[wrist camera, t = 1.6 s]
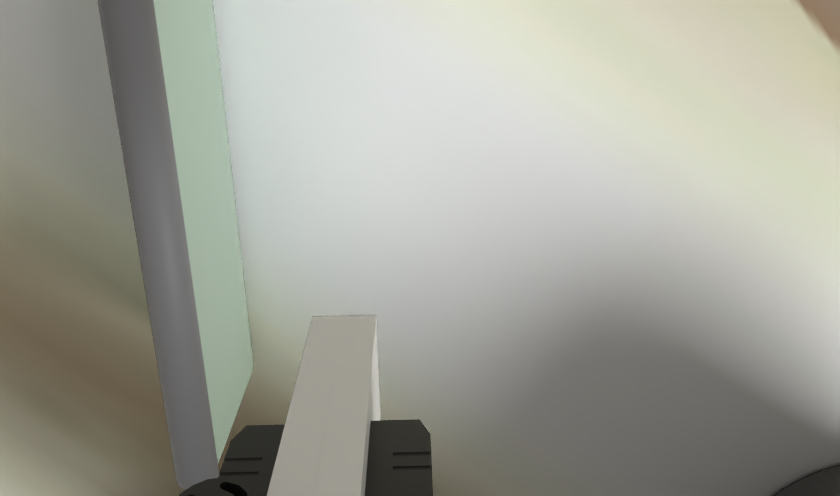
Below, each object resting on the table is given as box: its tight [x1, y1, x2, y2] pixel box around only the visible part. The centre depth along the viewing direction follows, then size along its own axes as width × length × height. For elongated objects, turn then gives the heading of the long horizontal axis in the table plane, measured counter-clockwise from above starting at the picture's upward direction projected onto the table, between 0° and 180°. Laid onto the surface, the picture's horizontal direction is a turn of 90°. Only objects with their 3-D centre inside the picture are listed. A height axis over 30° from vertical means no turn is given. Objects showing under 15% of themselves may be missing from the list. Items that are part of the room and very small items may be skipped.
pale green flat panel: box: [98, 0, 254, 490], centre depth 30 cm, size 21×2×9 cm, turn 1°
